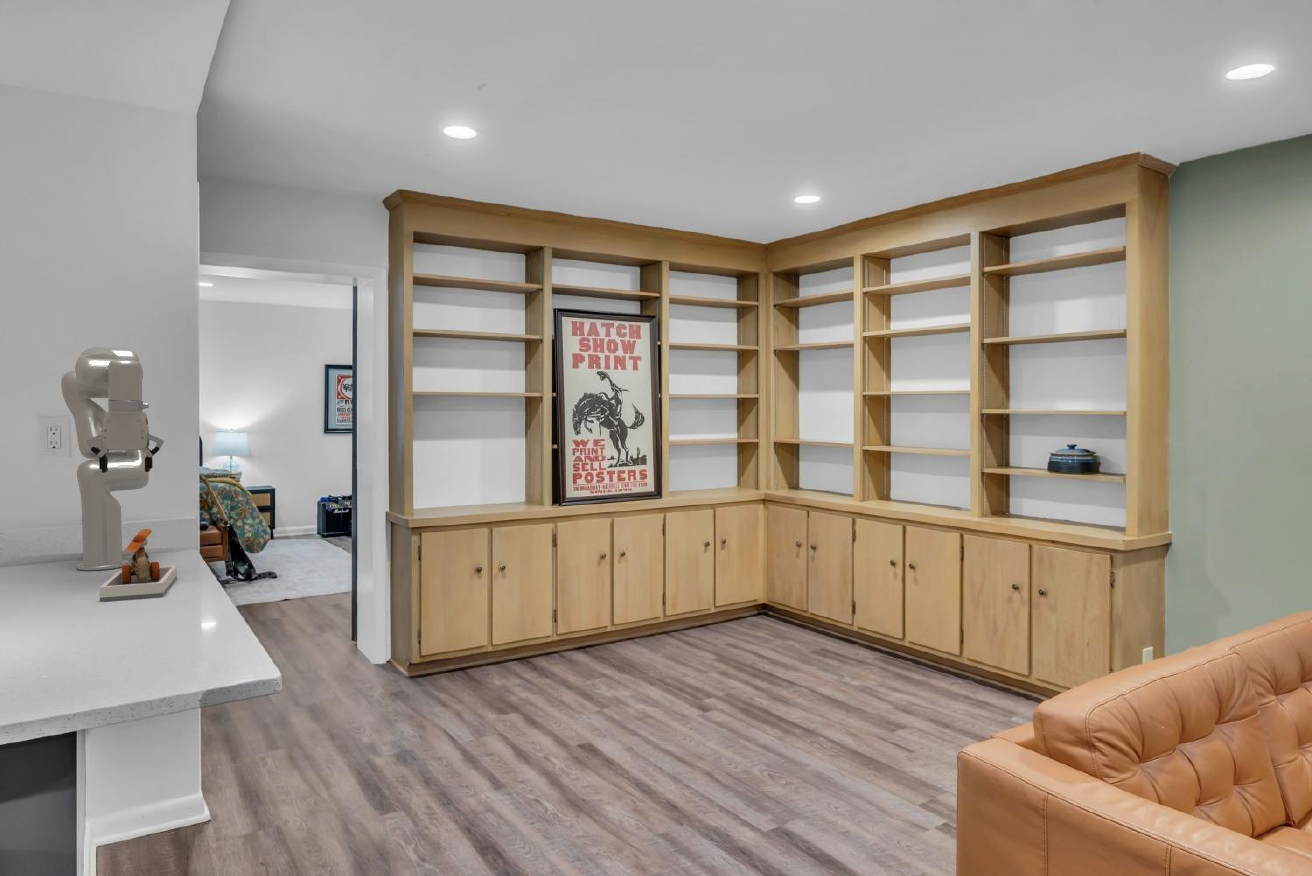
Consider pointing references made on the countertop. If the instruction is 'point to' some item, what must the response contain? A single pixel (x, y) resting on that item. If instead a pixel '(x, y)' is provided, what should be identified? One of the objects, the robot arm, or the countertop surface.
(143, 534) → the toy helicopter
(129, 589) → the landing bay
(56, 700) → the countertop surface
